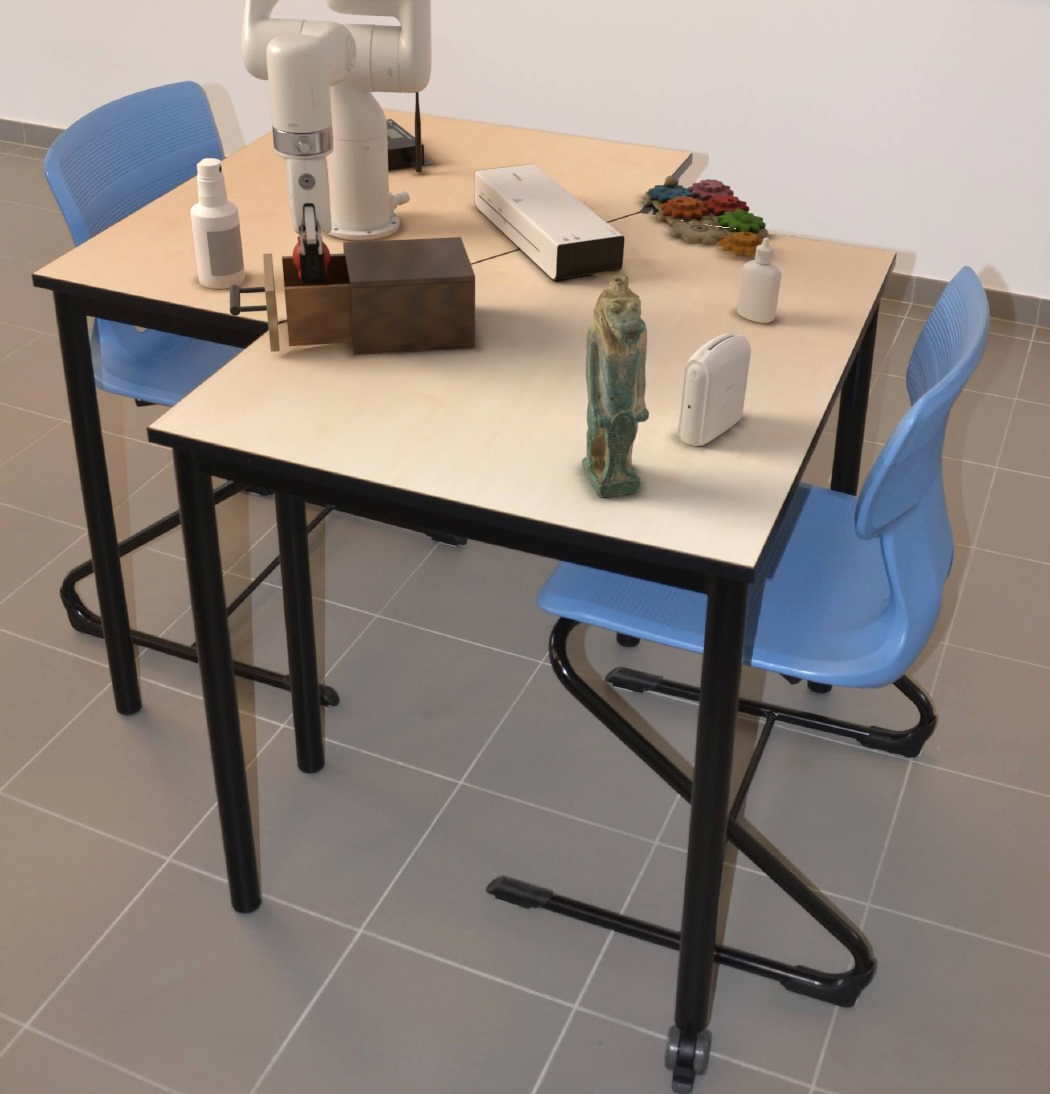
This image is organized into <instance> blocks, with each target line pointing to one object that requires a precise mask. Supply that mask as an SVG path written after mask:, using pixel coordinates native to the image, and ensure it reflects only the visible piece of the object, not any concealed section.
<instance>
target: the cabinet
mask: <svg viewBox="0 0 1050 1094" xmlns="http://www.w3.org/2000/svg"><path fill="white" fill-rule="evenodd" d="M342 247H343V248H342V249H343V253H344V254H345V260H346V266H347V271H348V277H349V283H350V295H351V313H352V332H353V343H351V345H352V350H353V355H354V356H358V355H361V356H362V355H375V354H392V353H394V354H395V353H407V352H426V351H442V350H443V351H444V350H459V349H475V348H476V274H475V272H474V268H473V266H472V263H471V261H470V257H469V254H468V252H467V250H466V247H465V243H464V241H463V238H462V236H453V237H429V238H410V239H407V238H406V239H388V240H387V239H386V240H361V241H344V242H342Z"/></svg>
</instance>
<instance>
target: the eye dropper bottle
mask: <svg viewBox="0 0 1050 1094" xmlns="http://www.w3.org/2000/svg"><path fill="white" fill-rule="evenodd" d="M762 239H763V242H762V244H761V245H758V246H757V247H756V254H754V259H751V260H748V261H747V262H745V263H744V264H743V266H742V269H741V274H740V275H741V276H740V283H739V288H738V290H739V291H738V297H737V298H738V299H737V306H736V313H737V315H739V316H740V317H742V318H743V319H745V320H748V321H750V322H754V323H758V324H769V323H771V322H773V321H775V319H776V316H777V310H778V309H777V308H778V302H779V297H780V296H779V295H780V290H781V289H780V288H781V281H782V271H781V270H780V268H779V267H778V266H777V265H775V264H774V263H773V257H774V249H775V248H774V247H773V246H772V245H770V238H769V237H763V238H762Z"/></svg>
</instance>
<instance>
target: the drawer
mask: <svg viewBox="0 0 1050 1094" xmlns="http://www.w3.org/2000/svg"><path fill="white" fill-rule="evenodd" d="M262 258H263V276H264V278H263V279H264V286H250V287H240V285H232V286H231V287H230V288H229V313H230V315H231V316H234V317H238V316H239V315H241V313H247V312H248V313H250V312H251V313H252V312H266V316H267V326H268V336H269V337H268V338H269V347H270V349H269V350H270V352H271V353H273V352H280V351H281V349H280V348H281V347H280V332H279V320H278V317H279V316H278V307H277V306H278V305H277V304H278V303H277V295H276V294H277V293H276V283H275V273H274V261H273V253H263V254H262ZM281 262H282V263H281V264H282V265H281V266H282V275H283V285H284V286H283V288H284V300H285V312H286V313H285V314H286V325H287V335H288V336H287V337H288V346H289V347H301V346H319V345H320V346H321V345H336V344H337V345H338V344H352V343H353V332H352V313H351V295H350V283H349V277H348V271H347V266H346V260H345V254H344V252H343V253H330V262H329V265H328V267H327V268H326V270H327V276H326V280H325V282H316V283H303V282H302V281H301V278H300V277H299V275H298V271H299V270H298V269H297V268H296V266H295V264H294V262H293V255H283V256H281ZM254 293H255V294H256V293H264V295H265V304H262V305H244V306H241V294H254Z"/></svg>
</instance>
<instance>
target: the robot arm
mask: <svg viewBox="0 0 1050 1094" xmlns="http://www.w3.org/2000/svg"><path fill="white" fill-rule="evenodd" d="M278 2H280V0H244V7H243V8H244V10H243V19H242V27H241V29H242V31H241V56H242V61H243V65H244V67H245V69H246V71H247V72H248V73H249V74H250V75H251V76H252V77H253V78H255V79H258V80H261V81H268V90H269V102H270V116H271V128H272V129H271V130H272V140H273V151H274V153H275V155H277V156H278V157H281V158H284V169H285V179H286V188H287V189H286V190H287V196H288V204H289V210H290V215H291V220H292V225H293V230H294V232H295V233H296V234H297V235H298V236H297V239H298V238H299V235H300V243H301V253H299V255H300V269H301V281H302V282H303V283H316V282H325V280H326V276H325V260H324V252H322V241H323V240H322V241H321V236H322V232H323V233H324V232H325V233H326V234H328V235H329V236H332V237H335V238H337V239H341V240H347V241H374V240H378V239H384V238H387V237H389V236H391V235H393V234H395V233H396V232H398V230H399V228H400V226H401V222H400V216H398V215H397V214H396V213H395V210H396V209H397V208H398V206H402V205H404V204H407V203H409V202H410V194H409V193H408V192H407V191H405V190H403V191H399V192H397V193H395V194H393V193H392V191H391V190H390V182H389V179H390V177H389V171H388V149H387V122H386V120H387V118H386V117H387V116H386V114H385V112H384V109H383V107H382V106H381V105H380V103H379V101H378V100H377V99H376V97H375V96H374V95H373V94H372V93H376V92H377V93H395V94H397V93H398V94H402V93H403V94H415V93H416V92H419V93H420V92H422V91H424V90H425V89H426V88H427V87H428V85H429V83H430V80H431V74H432V57H433V56H432V54H433V53H432V0H324V2H325V4H326V6H327V7H328V8H329V9H330V10H331V11H333V12H335V13H338V14H342V15H349V16H350V15H351V16H368V17H369V16H370V17H391V18H395V19H396V20H397V21H398V23H399V24H400V25H380V24H369V23H368V24H367V23H340V22H336V21H329V20H311V19H310V20H308V19H307V20H306V19H295V18H272V17H271V15H272V12H273V9H274V8H275V6H276V5H277V4H278ZM305 229H306V231H303V230H305ZM304 236H306V239H307V240H305V241H304ZM316 236H317V240H316Z"/></svg>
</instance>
